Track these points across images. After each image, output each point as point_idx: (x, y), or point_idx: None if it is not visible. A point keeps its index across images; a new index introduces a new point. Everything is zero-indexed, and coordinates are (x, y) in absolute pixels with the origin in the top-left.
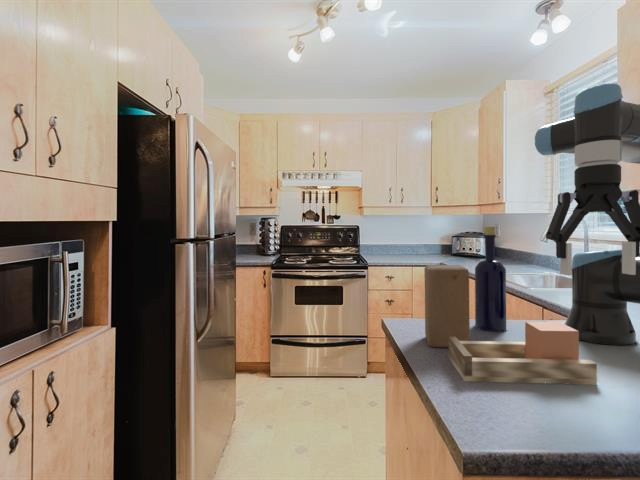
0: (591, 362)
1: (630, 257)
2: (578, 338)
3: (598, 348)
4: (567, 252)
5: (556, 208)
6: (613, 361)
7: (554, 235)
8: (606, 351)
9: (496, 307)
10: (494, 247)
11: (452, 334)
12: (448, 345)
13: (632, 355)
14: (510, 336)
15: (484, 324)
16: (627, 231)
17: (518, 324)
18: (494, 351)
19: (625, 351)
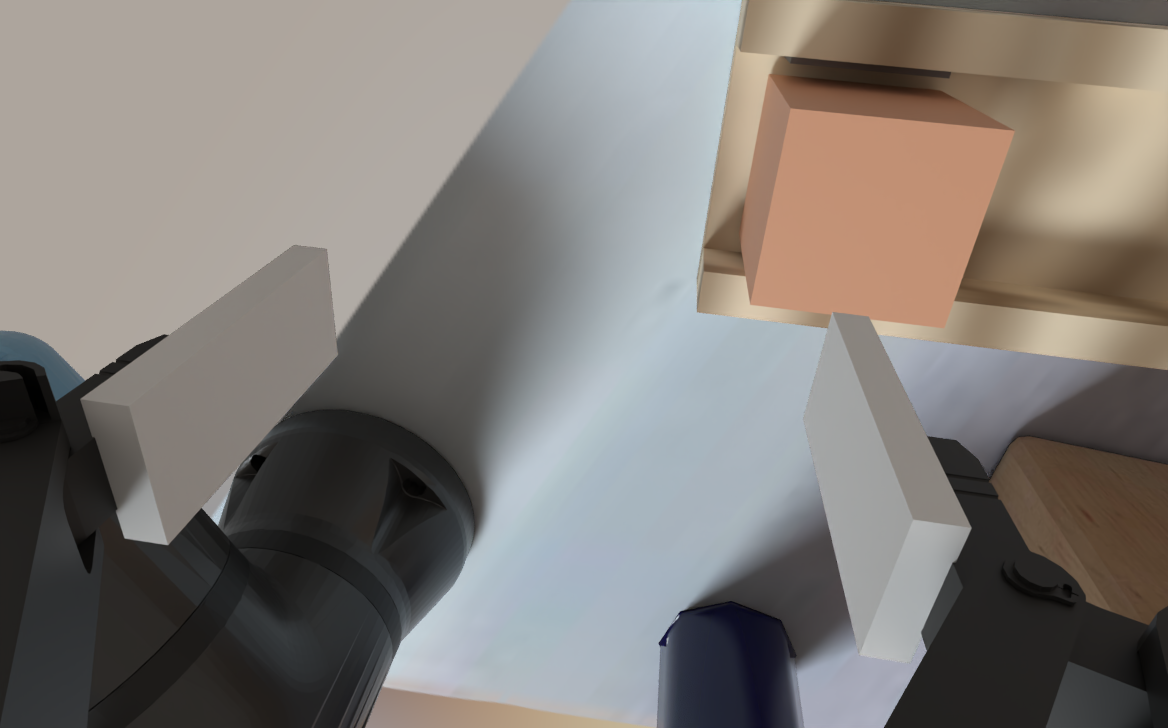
0: (761, 13)
1: (245, 331)
2: (788, 99)
3: (446, 389)
4: (928, 446)
5: None
6: (483, 249)
7: None
8: (436, 356)
9: (739, 699)
10: None
11: (1126, 484)
12: (1115, 455)
13: (365, 307)
14: (712, 549)
15: (781, 644)
16: (52, 544)
17: (583, 666)
18: (1030, 296)
19: (363, 349)
